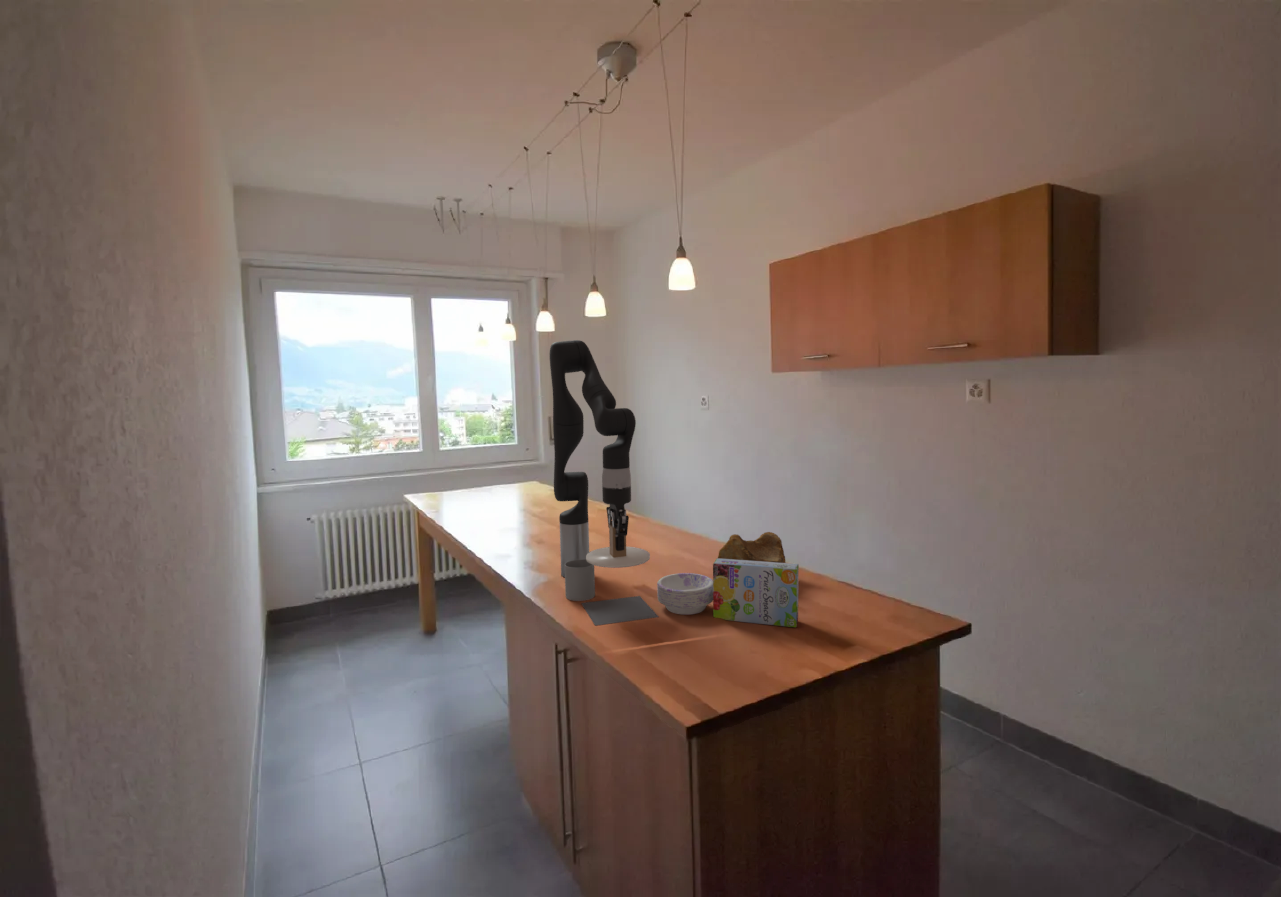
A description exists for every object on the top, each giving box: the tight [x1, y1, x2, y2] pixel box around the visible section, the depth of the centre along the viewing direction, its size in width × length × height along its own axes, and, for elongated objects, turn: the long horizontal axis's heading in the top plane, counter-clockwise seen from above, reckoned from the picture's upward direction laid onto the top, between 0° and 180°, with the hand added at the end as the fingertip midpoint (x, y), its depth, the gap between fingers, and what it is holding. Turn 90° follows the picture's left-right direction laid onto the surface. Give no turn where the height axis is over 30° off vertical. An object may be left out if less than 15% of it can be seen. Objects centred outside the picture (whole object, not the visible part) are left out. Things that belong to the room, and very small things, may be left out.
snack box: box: [712, 557, 800, 628], centre depth 157 cm, size 21×6×15 cm, turn 71°
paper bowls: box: [656, 572, 713, 616], centre depth 166 cm, size 15×15×8 cm
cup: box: [564, 559, 596, 602], centre depth 176 cm, size 8×8×10 cm
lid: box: [586, 524, 651, 569], centre depth 163 cm, size 17×17×9 cm
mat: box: [580, 595, 660, 627], centre depth 165 cm, size 17×17×1 cm
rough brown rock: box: [717, 531, 786, 563], centre depth 185 cm, size 23×17×15 cm
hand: (617, 547), depth 164 cm, fingers closed on lid, 3 cm apart
